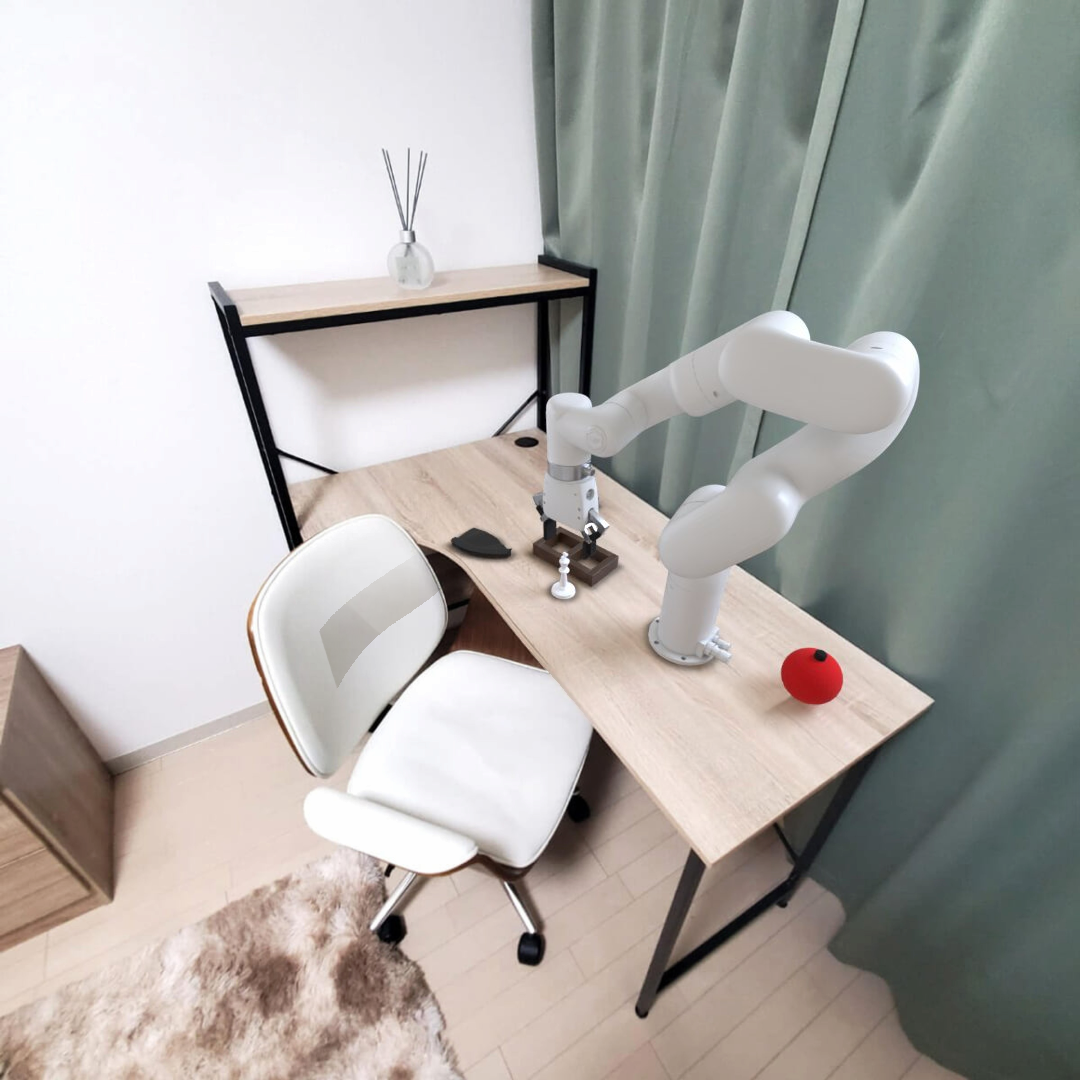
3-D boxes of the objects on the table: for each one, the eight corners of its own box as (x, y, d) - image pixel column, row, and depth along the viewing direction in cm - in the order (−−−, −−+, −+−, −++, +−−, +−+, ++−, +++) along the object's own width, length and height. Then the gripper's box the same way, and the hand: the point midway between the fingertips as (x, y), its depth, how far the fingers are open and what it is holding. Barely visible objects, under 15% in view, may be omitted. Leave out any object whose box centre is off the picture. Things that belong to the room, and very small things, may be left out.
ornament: (766, 696, 88) (782, 655, 82) (785, 664, 93) (801, 623, 88) (823, 726, 83) (844, 685, 77) (839, 690, 89) (860, 649, 83)
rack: (617, 566, 116) (618, 555, 114) (591, 587, 110) (592, 576, 108) (559, 536, 125) (559, 526, 123) (532, 554, 119) (532, 543, 118)
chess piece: (580, 590, 109) (582, 552, 103) (564, 602, 106) (566, 563, 100) (562, 580, 112) (563, 542, 106) (546, 591, 109) (546, 553, 103)
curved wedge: (493, 569, 115) (493, 563, 114) (449, 546, 122) (448, 540, 121) (518, 550, 120) (517, 544, 119) (474, 529, 127) (474, 524, 126)
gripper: (622, 473, 89) (617, 555, 99) (546, 446, 99) (548, 522, 109) (595, 490, 85) (592, 574, 95) (518, 459, 95) (523, 538, 104)
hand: (569, 546), depth 102 cm, fingers open, 9 cm apart
